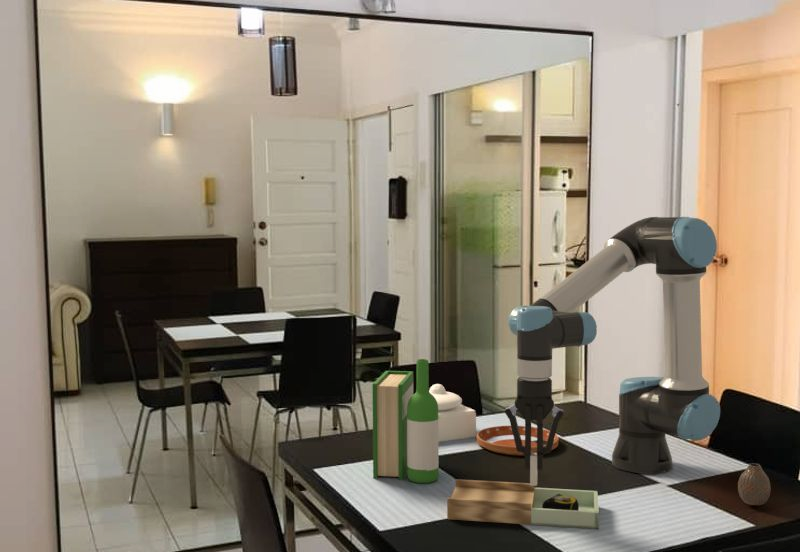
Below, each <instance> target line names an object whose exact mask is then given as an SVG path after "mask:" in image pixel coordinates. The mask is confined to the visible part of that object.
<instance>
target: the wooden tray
mask: <svg viewBox="0 0 800 552" xmlns="http://www.w3.org/2000/svg"><path fill="white" fill-rule="evenodd" d="M534 488H535V486H534V485H530V482H529V483H527V482H513V481H511V482H509V481H496V480H495V481H494V480H493V481H492V480H479V479H477V480H474V479H459V478H458V479H457V478H456V479H455V487H454V489H453V492H452V494H451V497H447V498H446V501H447V502H446V503H447V504H446V505H447V506H446V508H447V511H446V514H447V515H446V517H447V518H446V519H447V520H459V521H471V522H473V521H474V522H483V523H484V522H487V523H499V524H500V523H503V524H516V525H520V524H521V525H531V508H533V507H534ZM531 526H532V525H531Z"/></svg>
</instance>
